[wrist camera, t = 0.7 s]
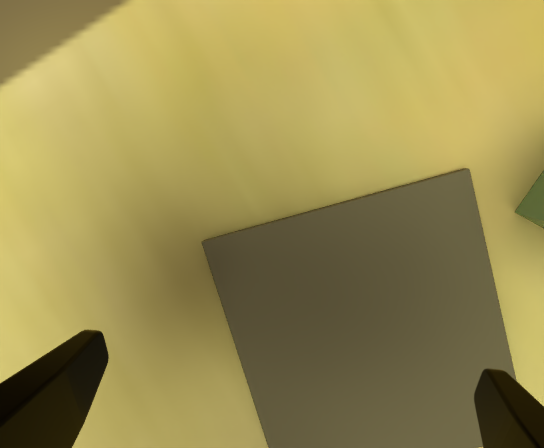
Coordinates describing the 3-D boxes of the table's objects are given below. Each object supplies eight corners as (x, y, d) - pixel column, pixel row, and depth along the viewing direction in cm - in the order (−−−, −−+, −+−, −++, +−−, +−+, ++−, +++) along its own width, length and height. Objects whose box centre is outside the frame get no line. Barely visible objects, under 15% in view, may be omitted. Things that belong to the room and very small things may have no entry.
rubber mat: (524, 431, 24) (529, 438, 23) (280, 473, 26) (279, 480, 26) (465, 168, 22) (469, 168, 21) (204, 240, 24) (201, 242, 23)
